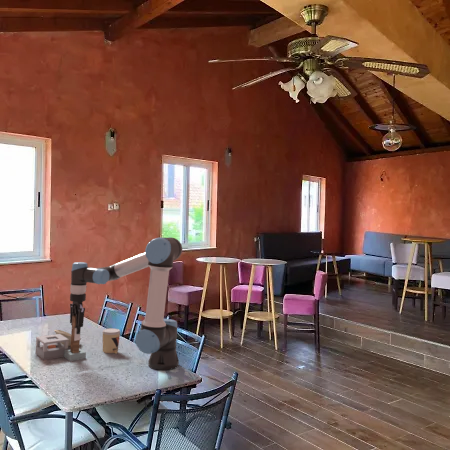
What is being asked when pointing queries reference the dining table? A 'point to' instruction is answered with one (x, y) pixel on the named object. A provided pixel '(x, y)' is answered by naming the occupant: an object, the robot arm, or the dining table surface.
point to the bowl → (64, 336)
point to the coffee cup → (111, 340)
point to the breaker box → (53, 352)
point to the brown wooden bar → (73, 343)
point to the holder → (74, 355)
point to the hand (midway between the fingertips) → (75, 339)
